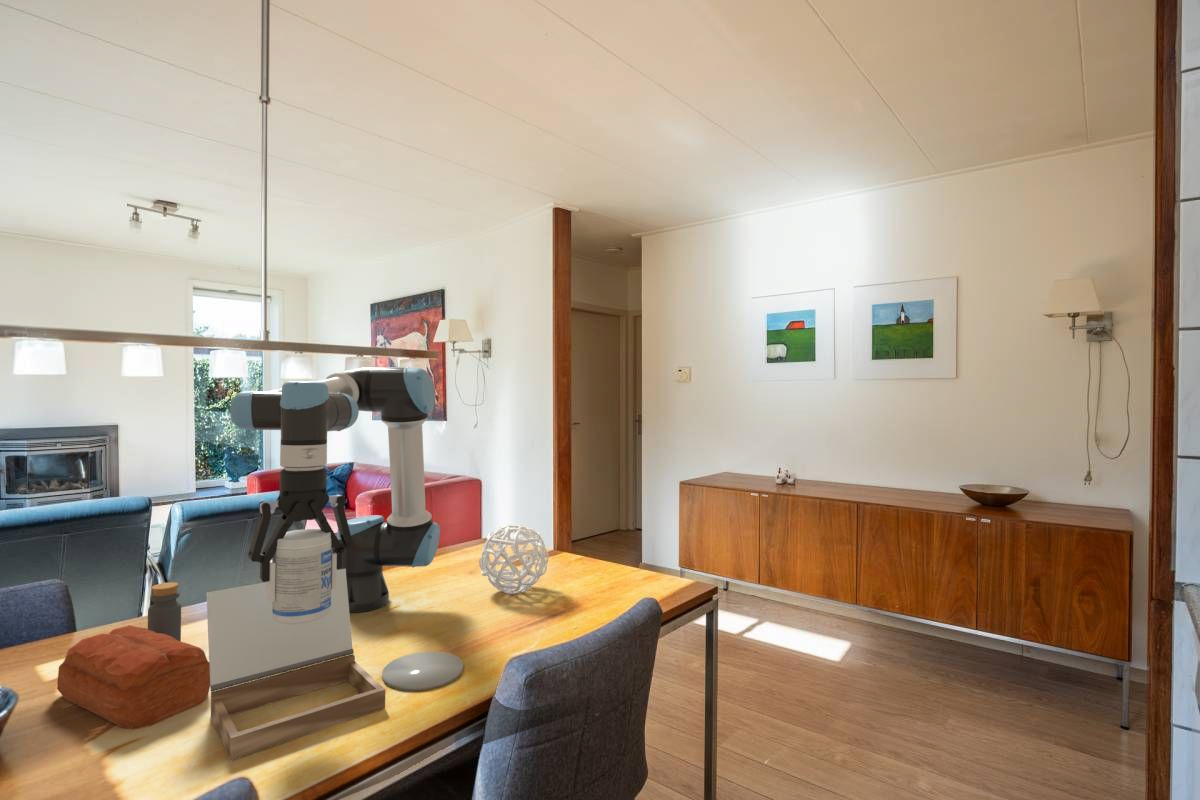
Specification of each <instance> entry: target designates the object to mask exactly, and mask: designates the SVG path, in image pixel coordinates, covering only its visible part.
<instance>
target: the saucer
mask: <svg viewBox="0 0 1200 800" xmlns="http://www.w3.org/2000/svg"><path fill="white" fill-rule="evenodd" d="M463 669H464V662H463V661H462V660H461V658H459V656H456V655H455V654H452V653H450V652H449V653H448V652H444V651H442V652H441V651H420V652H414V653H410V654H407V655H403V656H400V657H398V658H395V659H394V660H392V661H390V662H388V663H387V664H386V665H385V666H384V668H383V669H382V673H381V679H382V682H383V683H384V684H385V685H386V686H388V687H390V688H392V689H395V690H399V691H408V692H410V691H413V692H415V691H419V692H420V691H427V690H432V689H438V688H441V687H443V686H445V685H448V684H450V683H452V682H453V681H456V680H457V679H458V678H459V677H460V676H461V675H462V673H463Z"/></svg>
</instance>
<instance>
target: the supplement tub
mask: <svg viewBox="0 0 1200 800" xmlns="http://www.w3.org/2000/svg"><path fill="white" fill-rule="evenodd" d="M331 544H332V543H331V533H330V532H328V533H325V532H323V531H321V529H320V528H310V529H309V528H308V529H306V528H305V529H295V530H294V529H293V530H288V531H287V532H286V534H285V536H284V538H283V539H278V540H277V550H276V552H275V554H274V556H273V558H272V559H271V560H272V561H273V562H275V563H276V568H275V601H272V617H273V619H274V620H275V621H276V622H279V623H281V624H302V623H308V622H312V621H315V620H318V619H321V618H323V617H325V616H326V615H327V614H328V613H329V612H330V610H331V553H332V551H333V549H332V547H331Z"/></svg>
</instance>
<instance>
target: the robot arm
mask: <svg viewBox="0 0 1200 800" xmlns="http://www.w3.org/2000/svg"><path fill="white" fill-rule="evenodd" d="M435 401H436V391H435V387H434V381H433V380H432V377H431V375H430V374H429V373H428V371H427V370H426V369H423V368H421V367H420V368H419V367H411V366H384V367H382V366H376V367H375V366H364V367H358V368H354V369H348V370H343V371H340V372H335V373H332V374H330V375H328V376H327V377H325V379H321V380H316V381H299V380H298V381H293V380H292V381H291V380H290V381H286V382H284V383H283V384H282V386H281V388H277V389H271V390H262V391H258V390H249V391H248V390H247V391H240V392H238V393H237V394H236V395H234V397H233V398H232V400H231V402H230V407H229V411H230V419H231V421H232V423H233V425H234V426H236V427H237V428H238V429H241V430H251V431H256V432H257V431H280V448H279V449H280V450H279V453H280V454H279V457H280V458H279V466H280V467H281V468H283V469H281V471H280V472H279V495H278V497H277V499H276V500H271V501H264V500H262V501H260V502H259V503H258V511H259V516H258V520H257V523H256V526H255V529H254V533H253V537H252V539H251V543H250V546H249V549H248V553H247V554H248V555H247V557H248V558H249V560H251V561H252V562H254V563H255V562H257V563H259V579H260V580H261V581H262V583H264V582H266V598H267V599H268V600H269V601H270V602H271V601H275V568H276V563H275V562H273V561H272V558H273V556H274V554H275V552H276V550H277V540H278V539H283V538H284V536H285V534H286V532H288V531H289V529H290V528H291V527H292V525H293V523H294V522H295V523H298V522H301V521H305V520H307V521H313V520H315V522H316V523H317V525H318V527H319V529H321V531H323V532H325V533H328V532H330V533H331V543H332V544H331V548H332V553H331V589H332V590H333V589H336V572H337V570H340V569H345V568H346V579H347V591H348V602H349V613H362V612H368V611H371V610H377V609H379V608H382V607H383V606H385V605H386V604H388V602H389V601H390V593H389V592H390V591H389V588H388V585H387V582H386V580H385V577H384V573H383V572H384V570H383V568H384V567H407V568H408V567H410V568H419V567H421V568H422V567H427V566H430V564H431V563H432V562H433V560H434V558H435V557H436V554H437V550H438V547H439V542H440V537H441V536H440V534H441V527H440V525H439V524H438V522H437V523H436V522H435V521H434V522H433V520H432V519H433V518H432V517H433V516H432V514H431V512H429V511H428V510H427V509H426V488H425V487H426V486H425V484H426V483H425V462H424V442H423V441H424V438H423V437H424V436H423V435H424V434H423V424H424V423H425V422H426V421H427V420H428V418H429V414H430V413H432V412H433V411H434V409H435V404H436V403H435ZM360 412H371V413H372V412H374V413H380V418H381V422H382V423H384V424H385V425H386V426H387V433H388V435H387V436H388V455H389V456H388V457H389V471H390V472H389V473H390V474H389V476H390V477H389V478H390V495H391V513H390V515H389V516H388V517H387V518H386V521H385V518H384V516H383V515H378V514H377V515H376V514H375V515H374V514H373V515H366V516H358V517H354V518H351V519H347V515H346V511H345V502H346V498H345V496H344V495H341V494H338V493H336V494H335V495H329V494H328V491H327V489H328V488H327V487H328V486H327V483H328V481H327V480H328V479H327V478H328V477H327V476H328V475H327V474H328V470H327V469H326V468H325V467H326V465H327V464H328V455H327V453H328V432H335V431H336V432H341V431H343V430H346V429H349V428H351V427H352V426H353V425H354V424H355V423H356V421H357V420H358V418H359V413H360ZM324 466H325V467H324ZM328 503H329V505H330V506H331V507H332V511H333V514H334V517H335V522H336V526H337V533H335V531H334V530H333V528H332V526H331V525H330V523H329V522H328V520H327V517H326V516H325V514H324V512H323V510H324V509H325V507H326V506H327V504H328ZM277 508H279V510H280V511H281V512H282V514H281V516H280V518H279V520H278V523H277V525H276V527H275V529H274V531H273V532H272V534H271V536H270V537H269V540H268V541H267V543H266V545H265V546H264V543H265V539H266V536H267V533H268V529H269V526H270V522H271V517H272V515H273V514H274V513H275V511H276V509H277ZM336 534H337V535H336ZM263 547H264V548H263Z"/></svg>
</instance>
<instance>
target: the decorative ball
mask: <svg viewBox="0 0 1200 800" xmlns="http://www.w3.org/2000/svg"><path fill="white" fill-rule="evenodd" d="M512 533H513V534H514V536H513V538H511V534H512ZM519 535H522V536H519ZM499 538H502V539H499ZM529 543H530V544H531V545H532V546H533V549H527V547H528V545H529ZM495 545H496V546H497V549H494V547H495ZM508 545H510V548H511V551H512V552H513V554H511V556H509V553H508V552H507V550H506V548H508V547H507V546H508ZM519 546H522V548H521V549H520V547H519ZM539 548H540V550H539ZM491 554H492V555H493V556H494V557H493V559H492V560H491V558H490V555H491ZM524 556H525V557H524ZM501 557H502V558H503V560H499V559H500V558H501ZM549 559H550V558H549V552H548V549H546V546H545V543H544V540H543V538H542V537H541V533H539V532H538V531H536V530H535V529H534V528H531V527H527V526H525V525H522V524H514V525H512V524H511V525H501V526H500V527H499V528H498V529H497V530H495V531H493V532H490V533H488V535H487V536H486V541H485V543H484V545H483V547H482V551H481V556H480V558H479V560H478V563H479V567H480V570H481V571H480V573H481V575H482V576H483V577H486V576H487V577H488V578H487V580H488V582H489V583H490V584H491V585H492V586H493V587H494V588H495V589H497V590H499V591H500V592H502V593H504V594H507V595H516V594H519V593H523V594H524V593H526V592H528V591H529V589H530V587H533V586H534V584H536V583H537V582H538V581H539V580H540V578H541V576H544V575H545V574H546V572H547V570H548V565H547V564H548V562H549ZM516 560H518V561H519V562H520V564H521V566H522V567H521V569H518V567H517V566H516V565H515V564H513V562H515V561H516ZM498 565H499V566H500V565H501V567H500V569H497V568H496V566H498ZM489 566H490V567H489ZM533 566H534V571H535V572H534V571H533V570H532V568H533ZM507 567H509V569H506V568H507ZM515 576H516V577H515ZM527 576H530V577H528V578H527V579H525V578H526V577H527ZM524 579H525V580H524Z"/></svg>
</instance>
